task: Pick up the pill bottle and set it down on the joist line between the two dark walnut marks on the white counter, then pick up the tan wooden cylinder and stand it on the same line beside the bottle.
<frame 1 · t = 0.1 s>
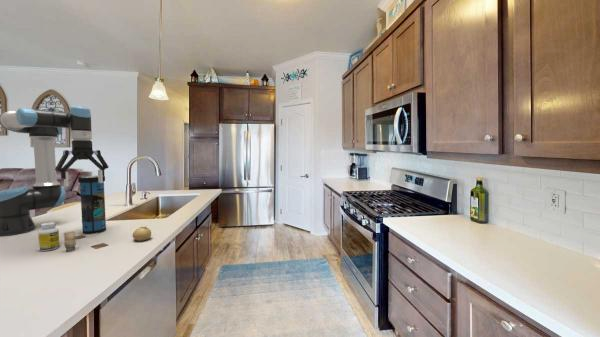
hand: (84, 184, 126), 28 cm above the countertop, fingers open, 13 cm apart
pill bottle: (49, 249, 118), on the countertop
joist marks: (85, 240, 128), on the countertop
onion: (142, 240, 130), on the countertop
advertising column: (94, 231, 143), on the countertop
tan wooden cylinder: (70, 250, 116), on the countertop
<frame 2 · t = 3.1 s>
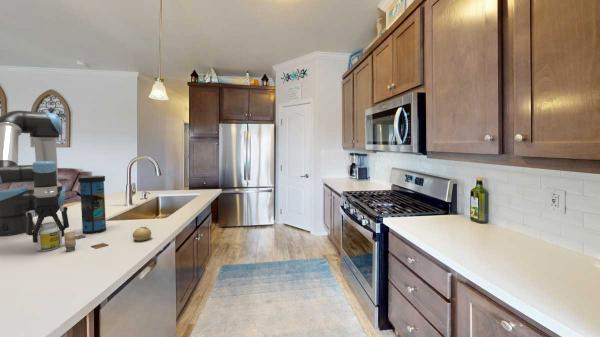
hand: (49, 246, 117), 1 cm above the countertop, fingers closed on pill bottle, 6 cm apart
pill bottle: (49, 249, 118), on the countertop, touching gripper
everything else where it was.
when the fingers open (2 cm above the countertop, at t = 8.0 s): pill bottle stays where it is, on the countertop.
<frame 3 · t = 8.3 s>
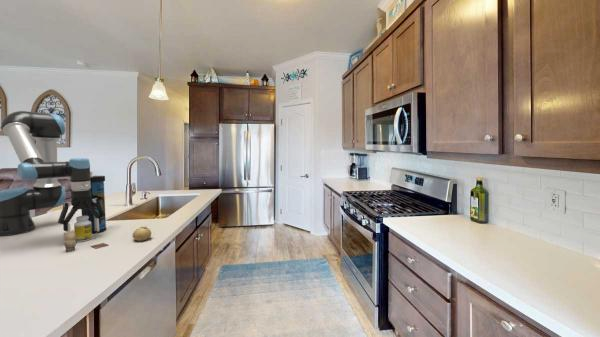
hand: (83, 233, 129), 3 cm above the countertop, fingers open, 11 cm apart
pill bottle: (83, 240, 129), on the countertop
everything else where it was.
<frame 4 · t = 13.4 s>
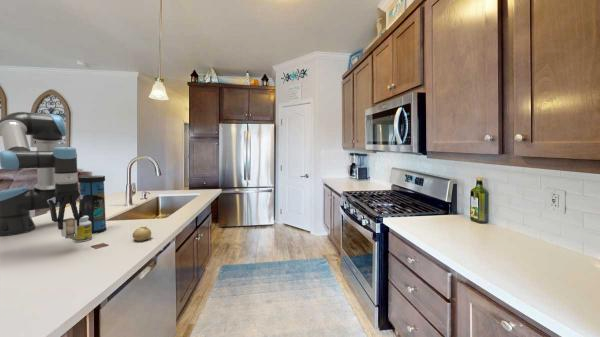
hand: (69, 234, 116), 7 cm above the countertop, fingers closed on tan wooden cylinder, 3 cm apart
tan wooden cylinder: (69, 237, 116), point 6 cm above the countertop, touching gripper
everything else where it was.
when the fingers open (0 cm above the countertop, at t = 17.6 s): tan wooden cylinder stays where it is, on the countertop.
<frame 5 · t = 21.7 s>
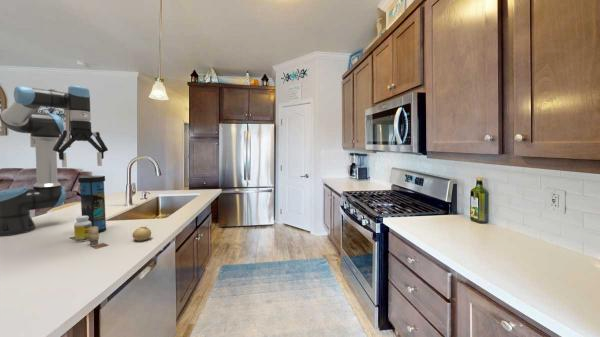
hand: (83, 166, 123), 37 cm above the countertop, fingers open, 13 cm apart
tan wooden cylinder: (94, 243, 124), on the countertop
everything else where it was.
at the end: pill bottle inside the target area (0.2 cm from its centre), on the countertop; tan wooden cylinder inside the target area (0.2 cm from its centre), on the countertop; tan wooden cylinder tilted 0° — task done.
